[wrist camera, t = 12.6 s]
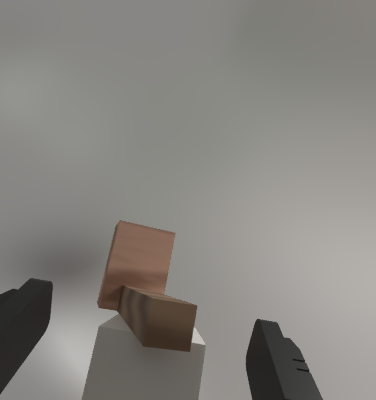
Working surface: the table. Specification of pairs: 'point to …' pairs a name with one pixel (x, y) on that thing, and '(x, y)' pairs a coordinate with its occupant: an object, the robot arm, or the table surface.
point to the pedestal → (141, 367)
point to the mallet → (146, 288)
